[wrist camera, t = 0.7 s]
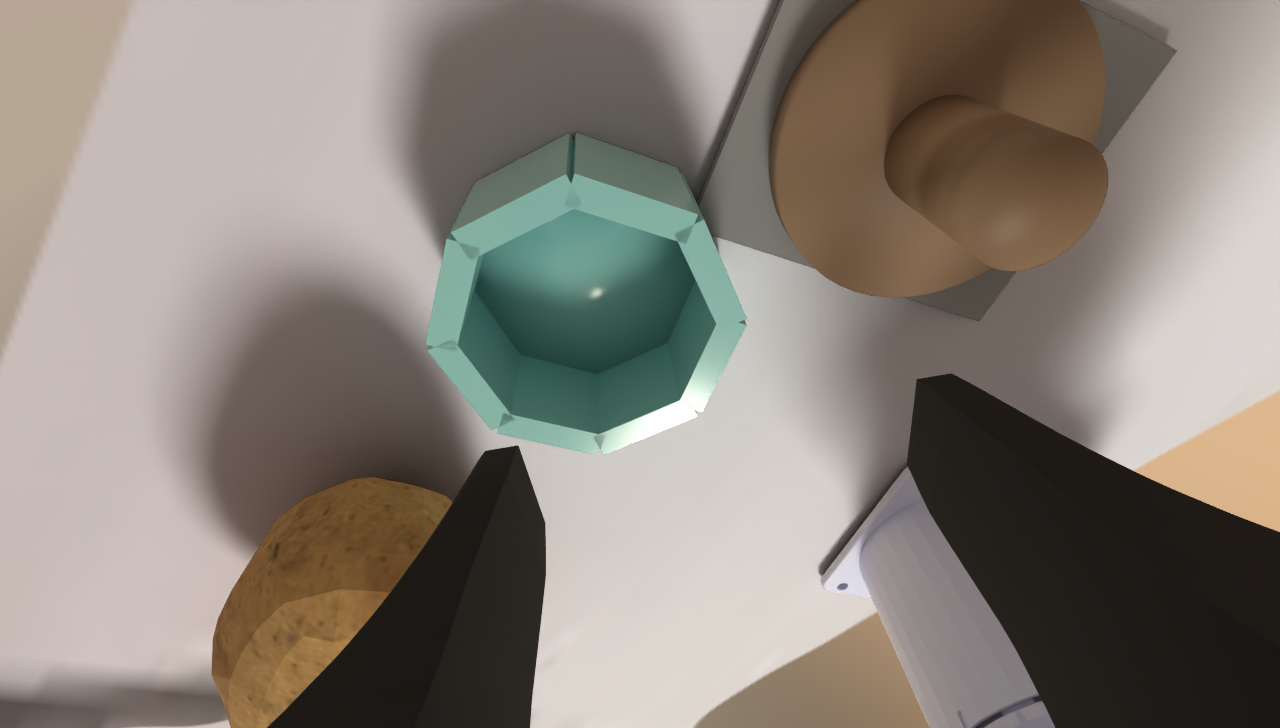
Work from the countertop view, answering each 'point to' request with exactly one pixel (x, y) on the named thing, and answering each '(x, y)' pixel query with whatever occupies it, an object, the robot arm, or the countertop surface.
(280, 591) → the potato
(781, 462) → the countertop surface
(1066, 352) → the countertop surface
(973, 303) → the mat
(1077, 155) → the lid
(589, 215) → the bowl
